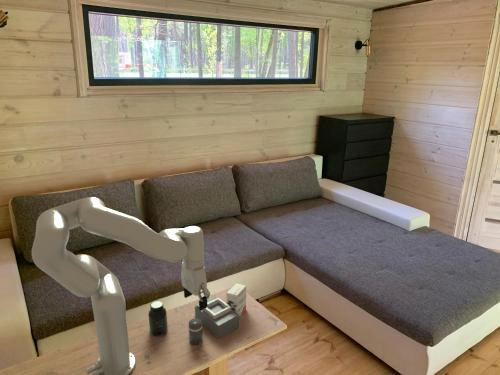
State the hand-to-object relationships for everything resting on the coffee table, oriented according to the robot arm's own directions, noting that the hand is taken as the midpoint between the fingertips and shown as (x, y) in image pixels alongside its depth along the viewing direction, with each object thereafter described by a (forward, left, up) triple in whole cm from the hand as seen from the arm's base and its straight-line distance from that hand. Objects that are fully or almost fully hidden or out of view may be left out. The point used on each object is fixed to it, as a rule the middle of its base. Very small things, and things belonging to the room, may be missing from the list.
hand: (195, 302), depth 136 cm
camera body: (+12, +3, -17) cm, 21 cm away
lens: (0, 0, -17) cm, 17 cm away
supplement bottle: (-8, +14, -17) cm, 24 cm away
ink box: (+22, +3, -17) cm, 28 cm away
